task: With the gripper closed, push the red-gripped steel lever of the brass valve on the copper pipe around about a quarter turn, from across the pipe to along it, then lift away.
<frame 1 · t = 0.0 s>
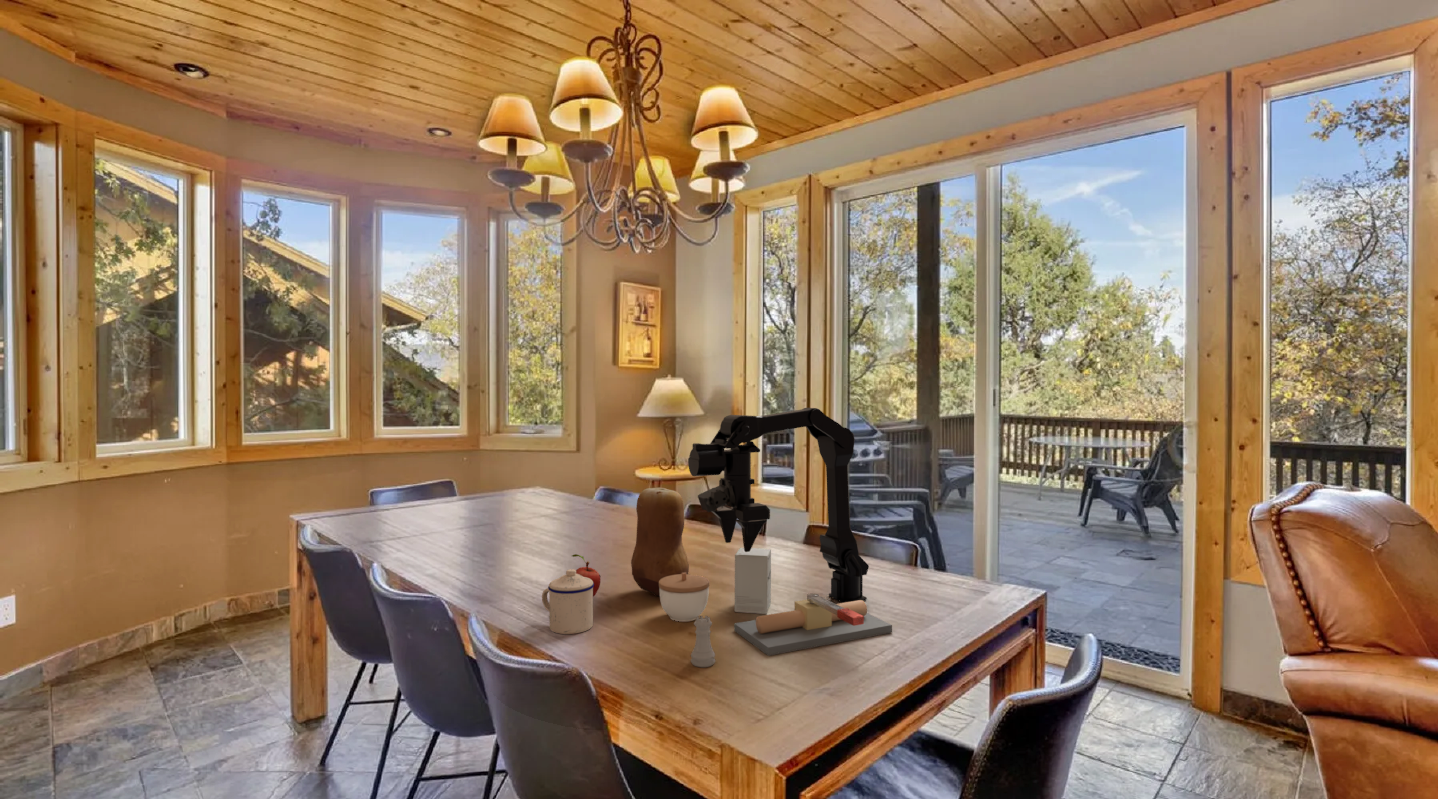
hand: (737, 547, 144), 15 cm above the table, tool pointing down, fingers open, 9 cm apart
apple: (584, 598, 157), on the table
supplement box: (753, 609, 149), on the table
valve body: (812, 631, 135), on the table
rook chess piece: (703, 664, 119), on the table
valve lever: (832, 607, 128), point 7 cm above the table, hinge at 0.0°
teacup with lid: (565, 627, 138), on the table
lidded jar: (684, 618, 144), on the table
butternut squash: (659, 594, 160), on the table
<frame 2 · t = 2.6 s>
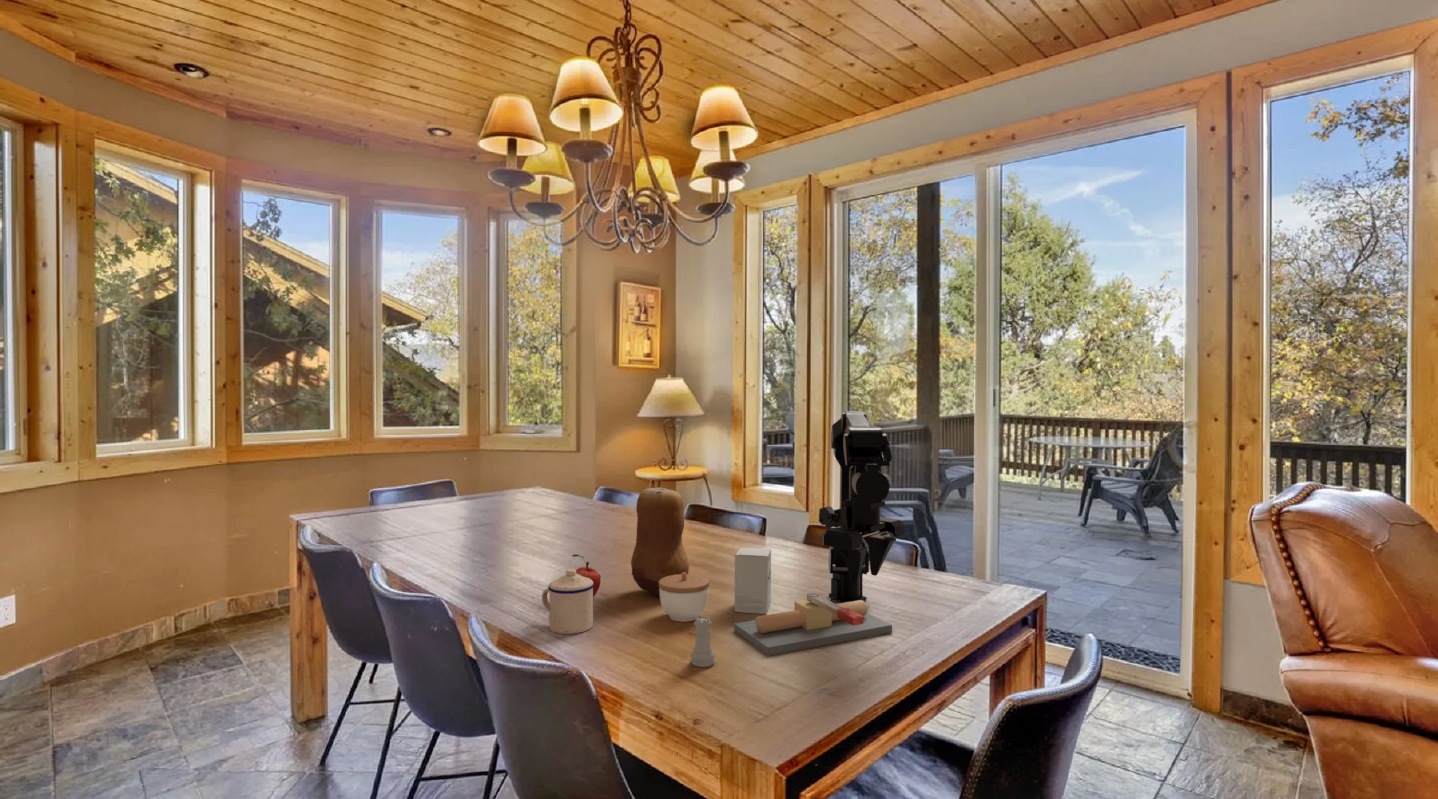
hand: (864, 578, 126), 13 cm above the table, tool pointing down, fingers open, 6 cm apart
nothing on the table moved.
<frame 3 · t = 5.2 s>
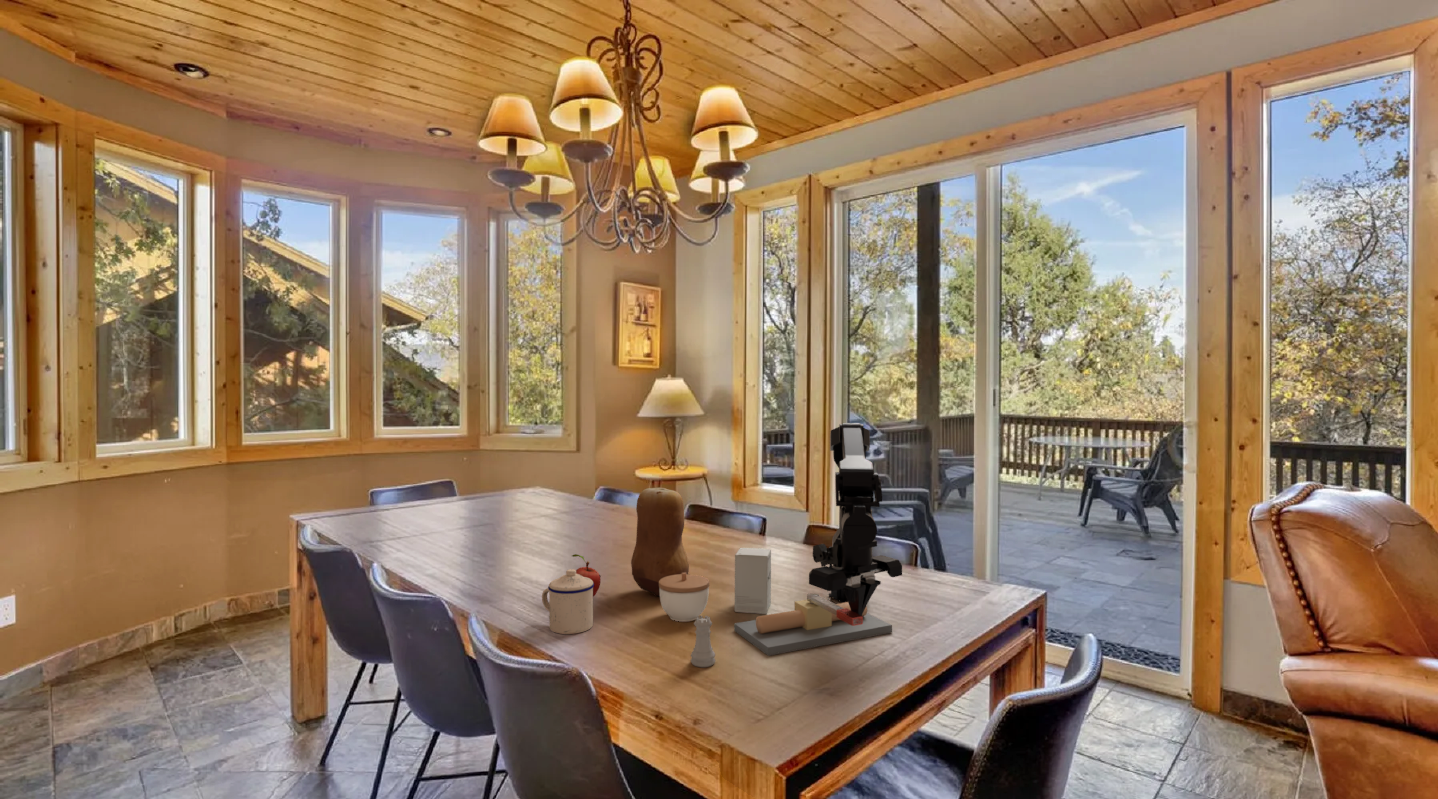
hand: (856, 618, 125), 6 cm above the table, tool pointing down, fingers closed
valve lever: (832, 607, 128), point 7 cm above the table, hinge at 0.9°, touching gripper
everything else where it was.
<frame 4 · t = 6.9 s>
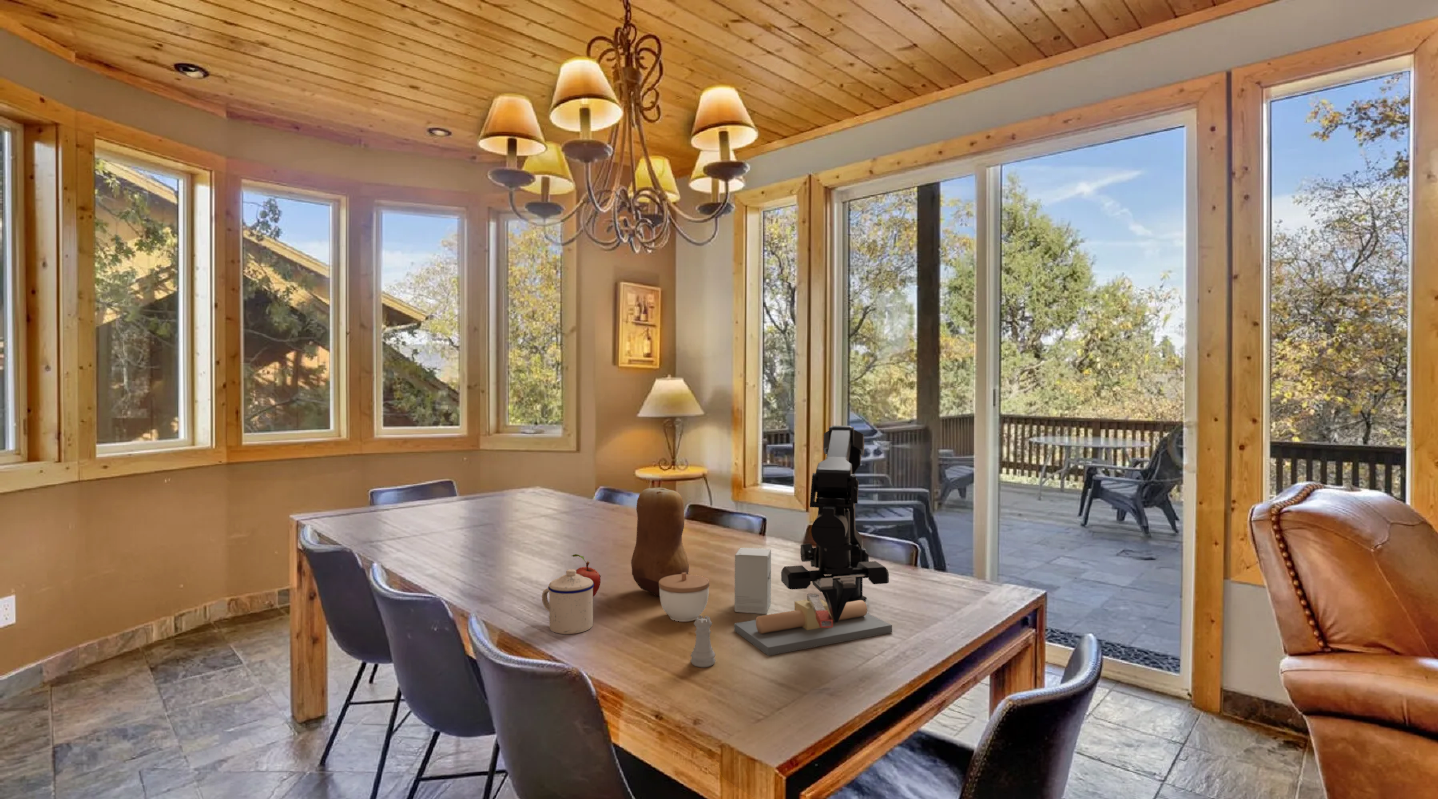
hand: (835, 621, 123), 6 cm above the table, tool pointing down, fingers closed
valve lever: (818, 608, 128), point 7 cm above the table, hinge at 23.5°, touching gripper
everything else where it was.
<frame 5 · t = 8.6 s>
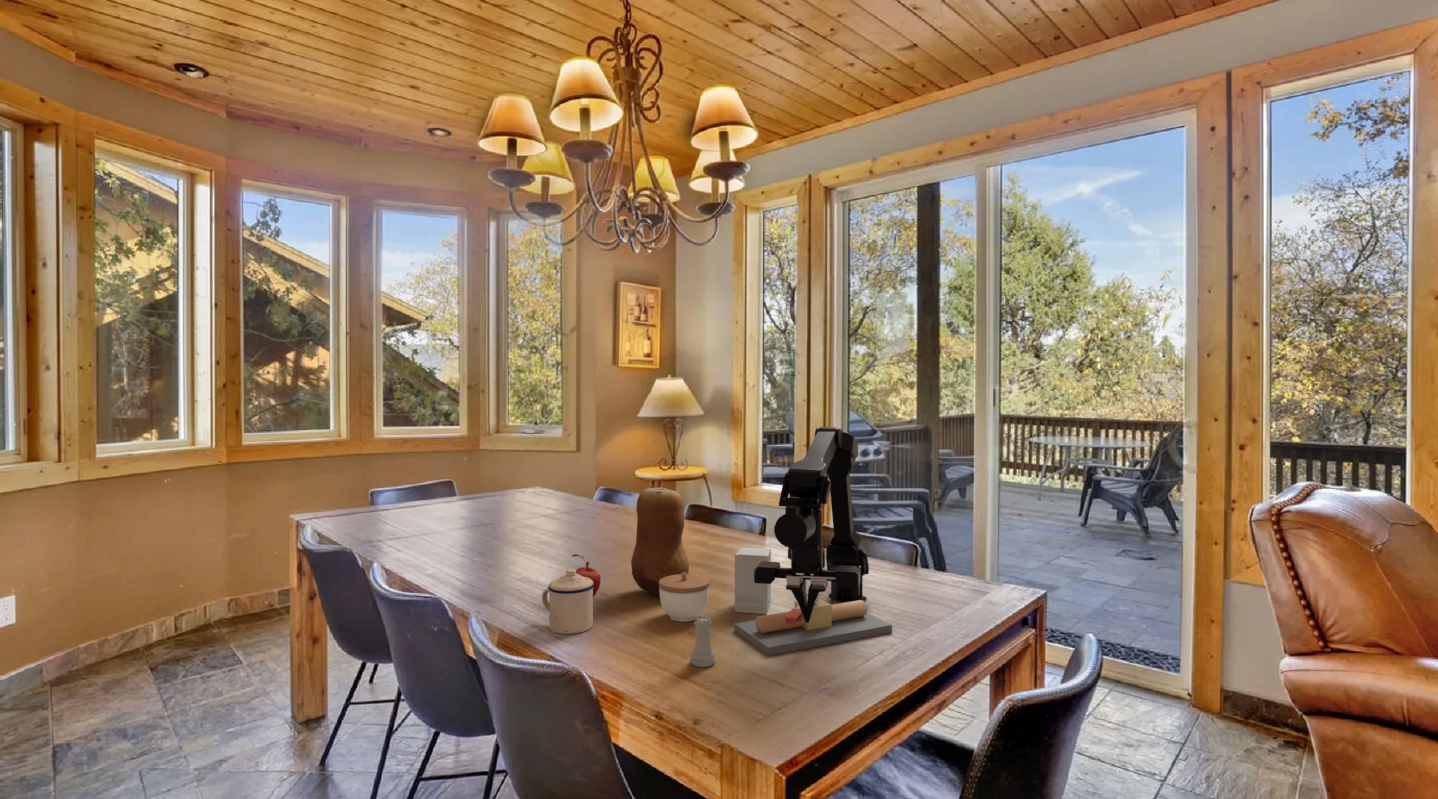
hand: (807, 621, 123), 6 cm above the table, tool pointing down, fingers closed
valve lever: (803, 607, 128), point 7 cm above the table, hinge at 47.7°, touching gripper
everything else where it was.
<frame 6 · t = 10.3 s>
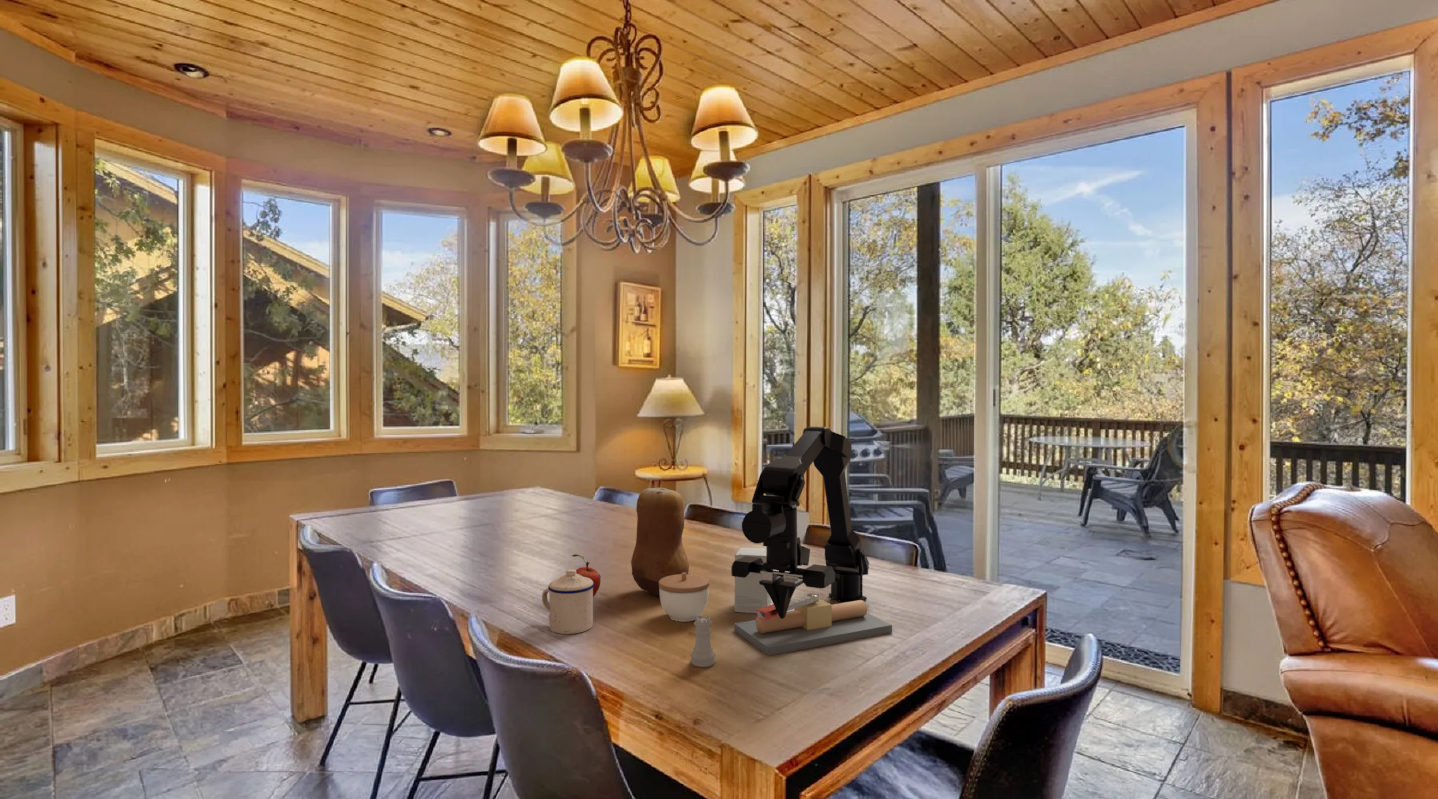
hand: (782, 618, 125), 6 cm above the table, tool pointing down, fingers closed
valve lever: (790, 605, 130), point 7 cm above the table, hinge at 71.6°, touching gripper
everything else where it was.
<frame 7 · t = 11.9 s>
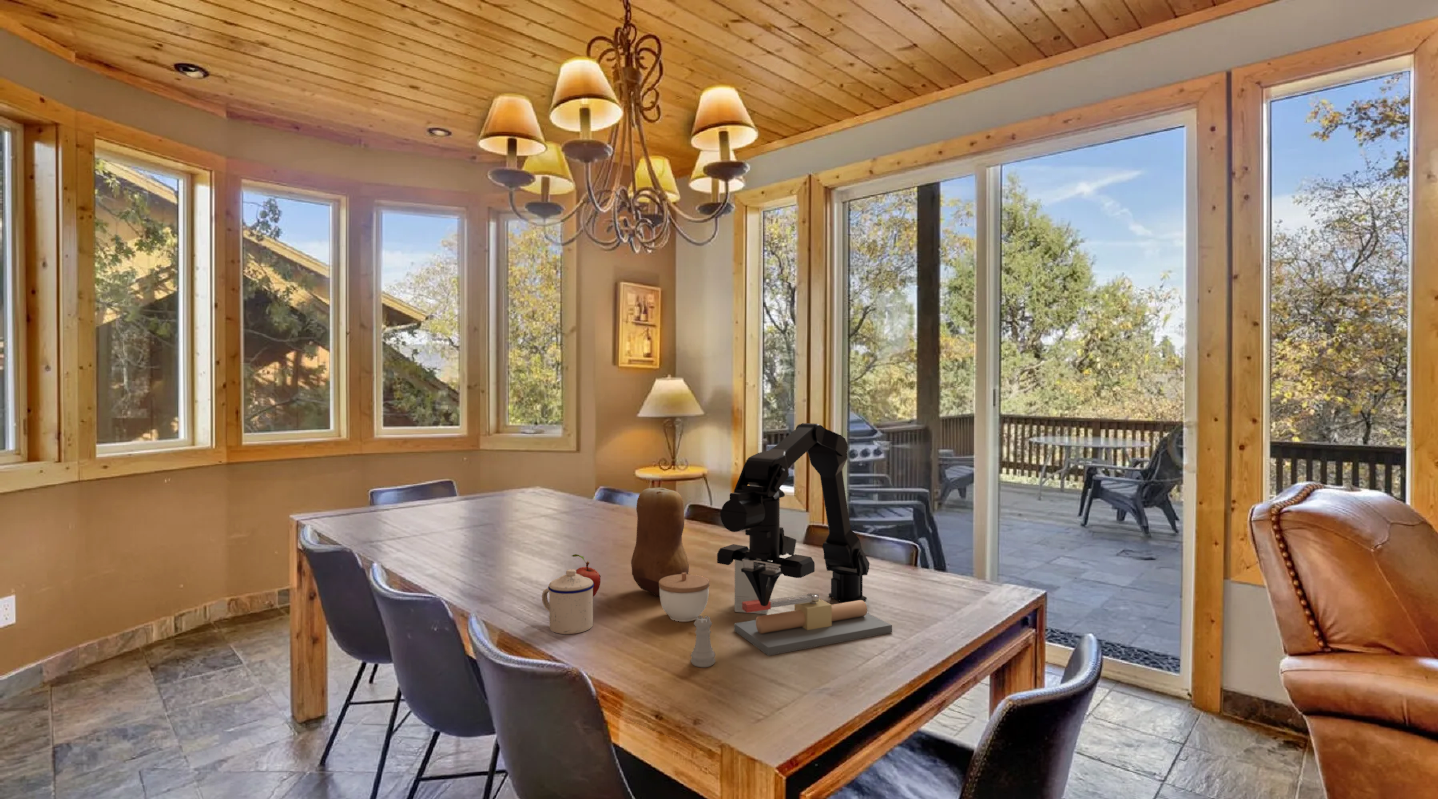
hand: (764, 605, 128), 7 cm above the table, tool pointing down, fingers closed
valve lever: (782, 601, 132), point 7 cm above the table, hinge at 91.8°
everything else where it was.
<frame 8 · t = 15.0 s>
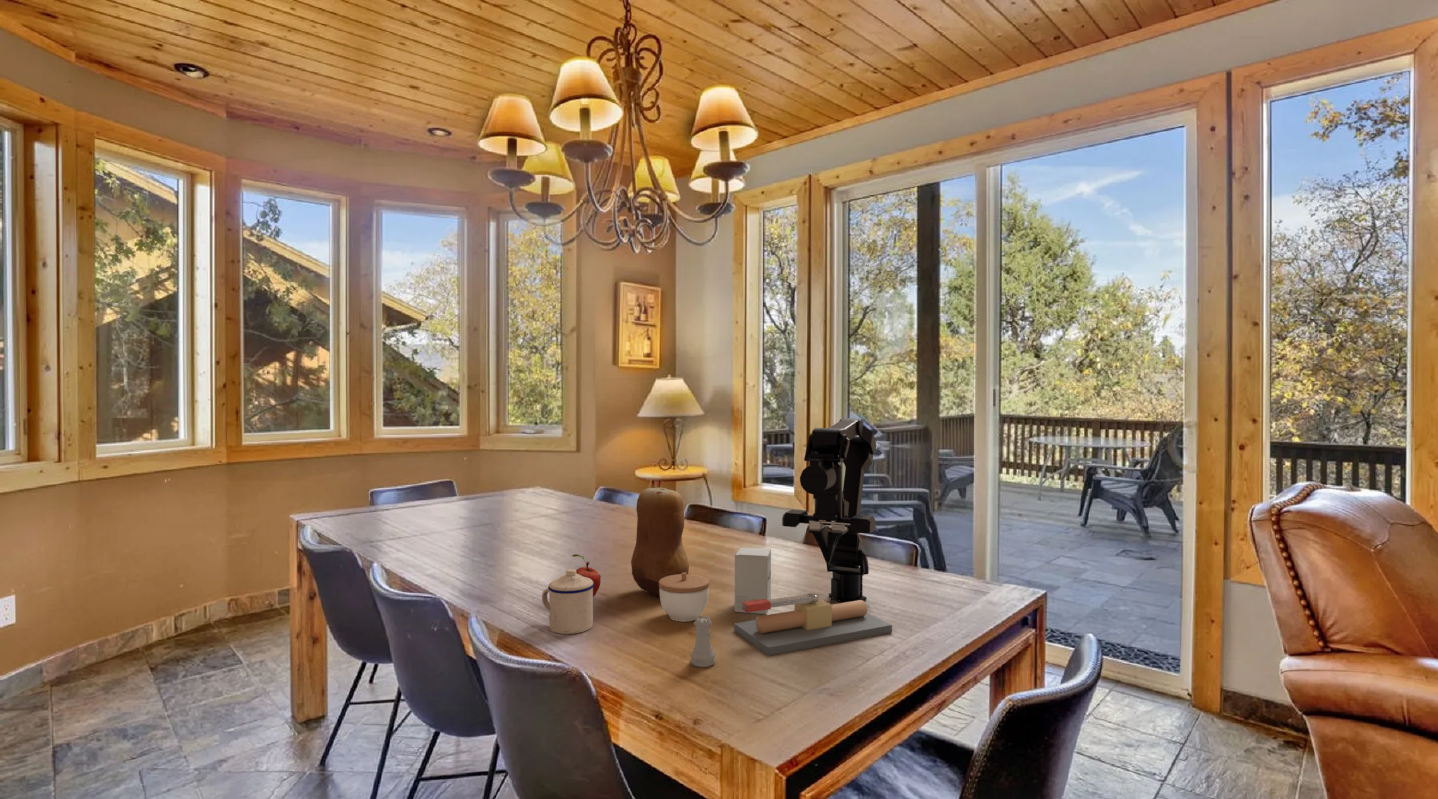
hand: (828, 562, 142), 12 cm above the table, tool pointing down, fingers closed
nothing on the table moved.
at the end: valve lever at +92° (first picture: +0°); rook chess piece moved 0.2 cm from its start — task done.
